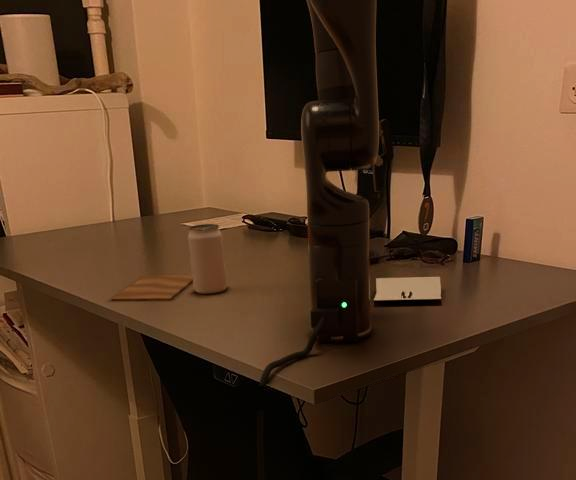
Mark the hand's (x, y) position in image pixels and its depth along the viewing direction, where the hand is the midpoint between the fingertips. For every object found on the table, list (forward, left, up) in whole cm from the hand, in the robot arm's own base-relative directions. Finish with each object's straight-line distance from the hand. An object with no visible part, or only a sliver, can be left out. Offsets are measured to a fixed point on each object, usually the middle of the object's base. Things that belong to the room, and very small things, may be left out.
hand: (351, 195), depth 130 cm
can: (+13, +30, -19) cm, 38 cm away
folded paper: (+7, -9, -19) cm, 22 cm away
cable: (+35, +5, -19) cm, 40 cm away
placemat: (+15, +42, -19) cm, 48 cm away
